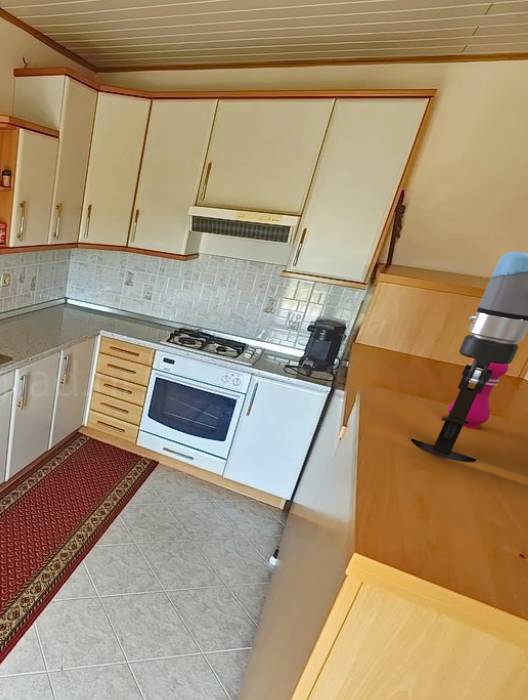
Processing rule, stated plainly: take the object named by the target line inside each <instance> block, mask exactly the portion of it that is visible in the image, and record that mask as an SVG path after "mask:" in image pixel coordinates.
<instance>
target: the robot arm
mask: <svg viewBox="0 0 528 700" xmlns="http://www.w3.org/2000/svg"><path fill="white" fill-rule="evenodd" d="M468 320H469V322H472V323H471V324H470V326H469V328H468V332H469V333H470V334H468V335H466V336H464V339H463V341H462V343H461V344H460V348H459V350H458V353H459V354H460V355H461V356H463V357H465V358H466V357H467V358H471V359H473V361H474V363H473V362H472V363H473V365H472V364H471V365H470V364H465V366H464V369H463V371H462V373H461V376H462V377H461V379H460V382H459V383H458V386H457V388H458V390H459V392H458V393H457V396H456V398H455V399H454V400H455V403H454V405H453V407H452V409H451V410H450V411H449V412H450V414H449V413H448V414H447V415H446V416H442V417H441V421H443V422H444V423H443V425H442V428H441V429H440V432H439V434H438V435H437V438H436V440H435V443H434V447H433V449H432V450H434V451H437V452H440V453H443V454H446V455H450V453H451V451H452V450H453V448H454V446H455V444H456V442H457V440H458V437H459V435H460V433H461V431H462V429H463V427H464V426H463V425H464V424H468V423H469V421H468V420H466V417H467V415H468V413H469V411H470V409H471V407H472V404H473V402H474V400H475V398H476V396H477V394H480V393H481V392H482V390H483V388H484V386H485V384H486V382H487V381H489V380H490V377H491V375H492V372H493V370H489V369H488V368H489V365H490V363H497V364H508V365H509V364H511V363H513V361H514V359H515V356H516V354H517V352H518V351H519V348H520V347H519V344H517V343H521V342H523V341H524V339H525V336H526V334H527V333H528V252H522V251H509V252H507V253H506V252H505V254H503V255H502V256H501V257H500V259H499V261H498V263H497V265H496V267H495V269H494V271H493V272H492V275H491V276H490V278H489V281H488V283H487V286H486V287H485V290H484V293H483V294H482V297H481V299H480V303H479V305H478V308H477V310H476V313H475V315H470V316H469V317H468ZM482 380H483V381H482Z"/></svg>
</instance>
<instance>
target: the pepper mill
mask: <svg viewBox="0 0 528 700" xmlns="http://www.w3.org/2000/svg"><path fill="white" fill-rule="evenodd" d="M473 363H474V360H473V361H472V362H471V365H473ZM488 369H489V370H493V372H492V375H491V377H490V380H489V381H487V382H486V384H485V386H484V388H483V390H482V392H481V393H480V394H477V396H476V398H475V400H474V402H473V404H472V407H471V409H470V411H469V413H468V415H467V417H466V420H468V421H469V423H468V424H464V425H463V427H464V428H469V429H480V425H482V424H485V423H486V422H488V421H489V418H490V416H491V410H490V409H491V408H490V394H491V393H492V390H493V389H494V387H496V386H498V385H499V384H498V383H499V382H500V379H499V378H501V377H503V376H505V375H506V374H507V372H508V370H509V364H497V363H490V365H489V368H488ZM482 381H483V380H482ZM455 400H456V399H454V400H453V401H452V402H451V403H450V404H449V405H448V408H447V413H448V415H449V414H450V412H449V411H450V410H451V409H452V407H453V405H454V403H455Z"/></svg>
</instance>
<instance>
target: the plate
mask: <svg viewBox="0 0 528 700" xmlns="http://www.w3.org/2000/svg"><path fill="white" fill-rule="evenodd" d="M410 442H411V443H412V444H414V445H415V446H416V447H418V448H420V449H421V450H424V451H426V452H428V453H431V454H433V455H436V456H439V457H441V458H445V459H447V460H452V461H457V462H464V463H473V462H477V460H478V458H475V457H471V456H468V455H465V454H463V453H458V452H455V451H452V450H451V453H450V455H446V454H443V453H440V452H437V451H434V450H432V449H433V447H434V445H435V444H434V445H433V444H431V443H427V442H424V441H421V440H419V439H415V438H410Z"/></svg>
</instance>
